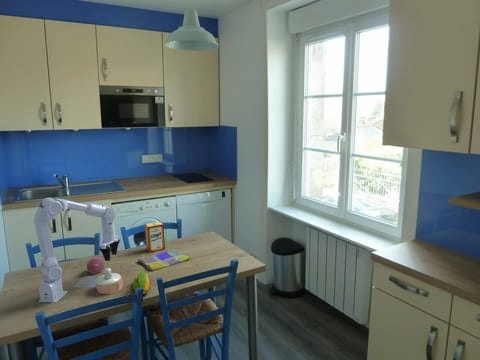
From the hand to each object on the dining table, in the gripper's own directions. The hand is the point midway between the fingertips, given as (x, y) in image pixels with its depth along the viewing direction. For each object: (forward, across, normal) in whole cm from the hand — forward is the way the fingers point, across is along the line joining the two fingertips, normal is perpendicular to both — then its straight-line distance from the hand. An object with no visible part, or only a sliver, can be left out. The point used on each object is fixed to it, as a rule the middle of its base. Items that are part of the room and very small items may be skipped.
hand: (111, 257), depth 176 cm
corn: (+11, -10, -18) cm, 24 cm away
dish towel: (+11, +21, -20) cm, 31 cm away
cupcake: (+8, +8, +14) cm, 18 cm away
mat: (+10, -6, +8) cm, 14 cm away
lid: (+6, -12, -3) cm, 14 cm away
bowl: (+10, -12, -4) cm, 16 cm away
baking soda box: (+11, +38, -10) cm, 41 cm away
